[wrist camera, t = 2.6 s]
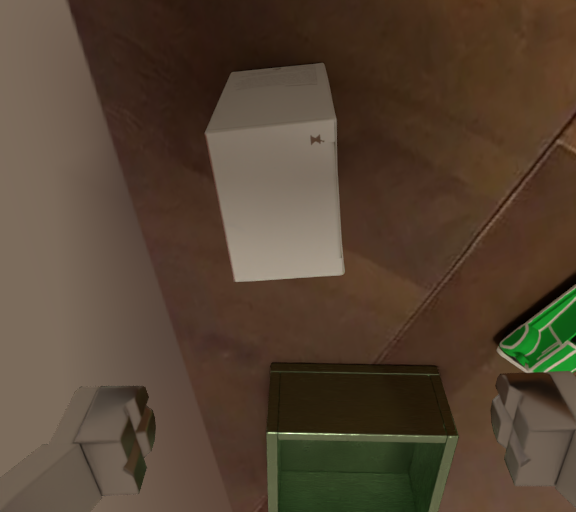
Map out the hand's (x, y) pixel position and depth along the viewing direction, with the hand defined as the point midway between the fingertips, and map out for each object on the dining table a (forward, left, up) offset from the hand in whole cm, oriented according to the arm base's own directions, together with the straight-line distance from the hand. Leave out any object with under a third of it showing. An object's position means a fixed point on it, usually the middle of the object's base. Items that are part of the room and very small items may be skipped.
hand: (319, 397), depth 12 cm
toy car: (+20, -14, -23) cm, 34 cm away
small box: (-1, -1, -23) cm, 23 cm away
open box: (+4, -27, -23) cm, 36 cm away
